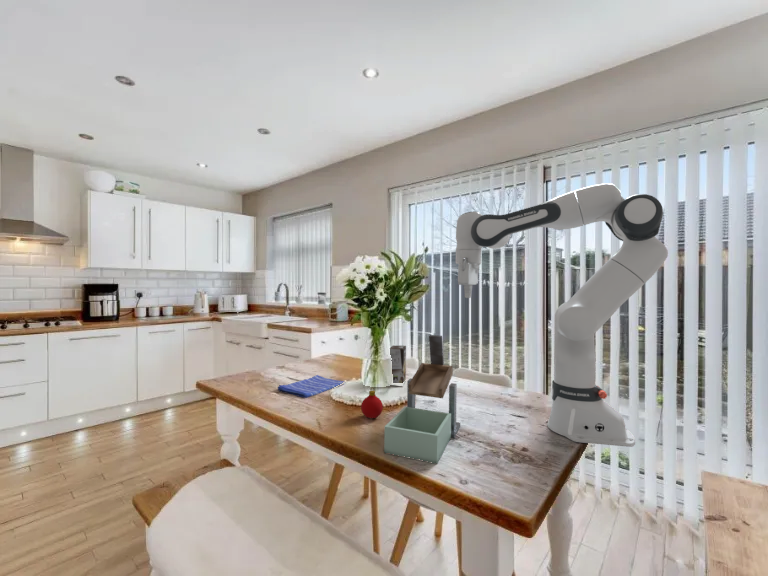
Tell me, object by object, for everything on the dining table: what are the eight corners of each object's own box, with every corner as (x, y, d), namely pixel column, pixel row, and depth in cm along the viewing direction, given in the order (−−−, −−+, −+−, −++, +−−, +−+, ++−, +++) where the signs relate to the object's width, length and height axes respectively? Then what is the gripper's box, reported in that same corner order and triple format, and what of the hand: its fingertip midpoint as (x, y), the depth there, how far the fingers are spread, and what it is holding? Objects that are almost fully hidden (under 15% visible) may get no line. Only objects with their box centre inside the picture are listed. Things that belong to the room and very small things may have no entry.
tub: (450, 437, 101) (451, 413, 101) (437, 464, 87) (437, 435, 86) (404, 429, 107) (405, 406, 107) (384, 453, 92) (384, 426, 92)
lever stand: (460, 426, 109) (460, 381, 109) (454, 438, 101) (454, 389, 101) (411, 418, 115) (411, 375, 115) (401, 429, 107) (402, 383, 107)
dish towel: (275, 392, 144) (275, 385, 144) (317, 379, 163) (317, 372, 163) (305, 400, 134) (305, 392, 134) (345, 385, 154) (345, 378, 154)
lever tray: (453, 372, 113) (451, 336, 110) (442, 398, 100) (440, 358, 97) (423, 369, 117) (420, 334, 114) (409, 393, 104) (405, 354, 101)
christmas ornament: (373, 423, 111) (373, 392, 111) (356, 418, 115) (356, 387, 115) (387, 417, 117) (387, 387, 116) (370, 412, 121) (370, 383, 121)
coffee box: (403, 387, 150) (403, 349, 150) (388, 386, 151) (388, 348, 151) (406, 381, 159) (406, 345, 159) (392, 380, 160) (392, 344, 160)
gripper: (472, 256, 114) (472, 299, 114) (481, 260, 133) (481, 297, 133) (453, 256, 117) (452, 298, 117) (464, 260, 135) (464, 296, 136)
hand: (467, 297), depth 125 cm, fingers closed
